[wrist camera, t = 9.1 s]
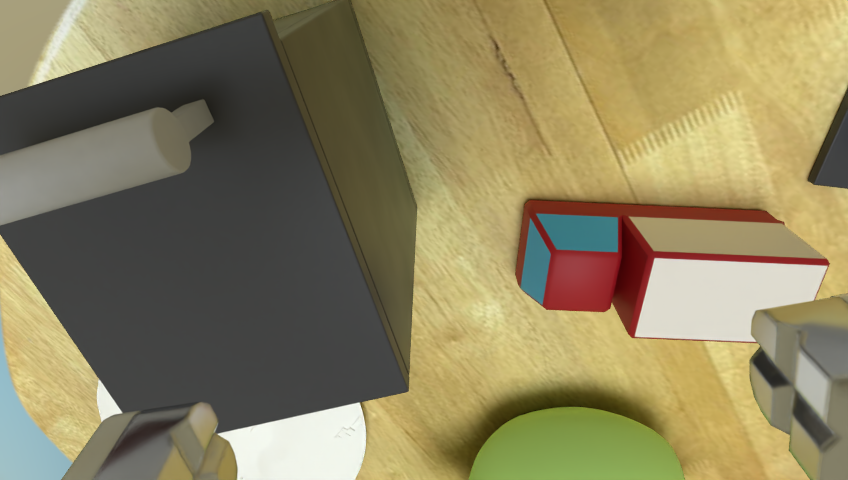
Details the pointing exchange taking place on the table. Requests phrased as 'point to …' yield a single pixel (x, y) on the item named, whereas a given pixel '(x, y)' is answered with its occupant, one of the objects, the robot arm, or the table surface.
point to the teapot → (575, 448)
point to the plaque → (291, 444)
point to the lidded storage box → (358, 150)
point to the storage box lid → (195, 231)
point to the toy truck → (665, 266)
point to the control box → (834, 153)
